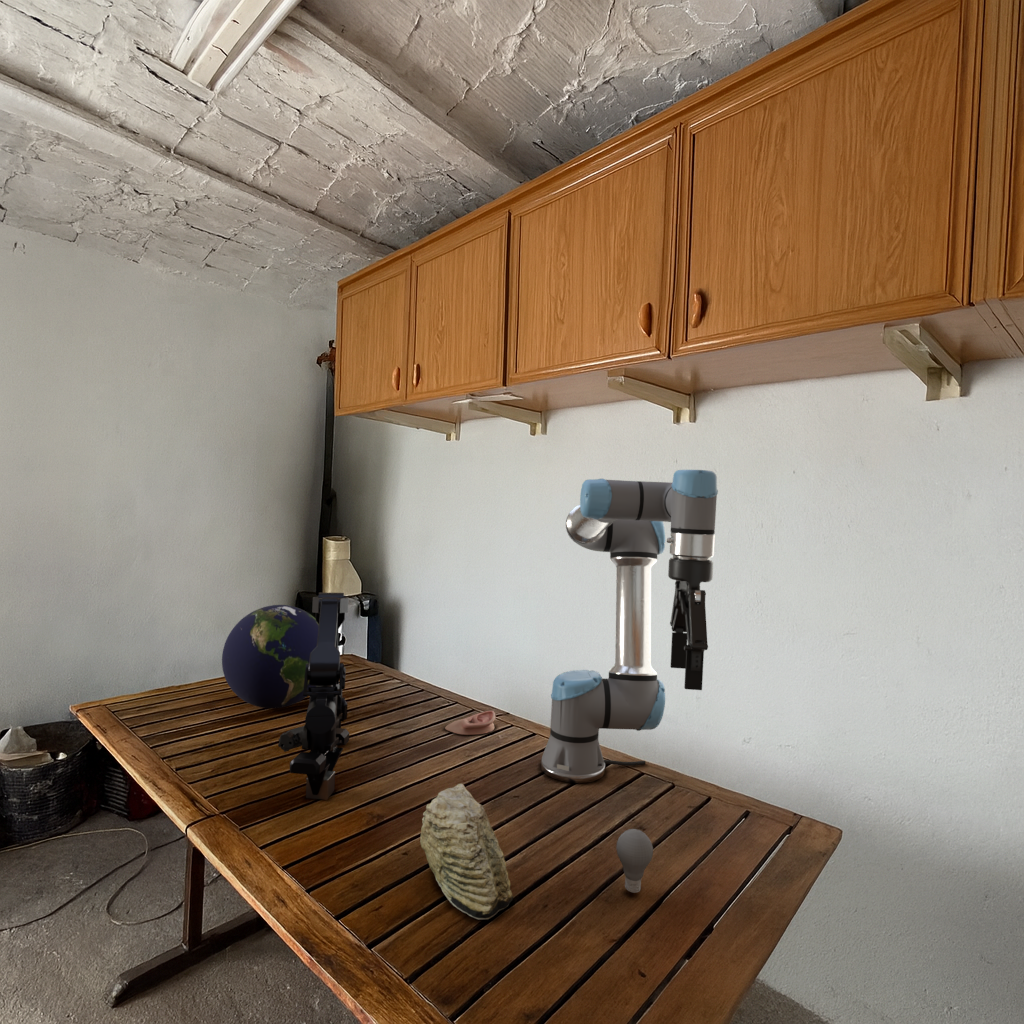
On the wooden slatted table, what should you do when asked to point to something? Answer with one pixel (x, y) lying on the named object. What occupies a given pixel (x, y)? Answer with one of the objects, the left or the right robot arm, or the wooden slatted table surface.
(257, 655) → the globe
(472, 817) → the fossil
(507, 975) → the wooden slatted table surface
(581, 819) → the wooden slatted table surface
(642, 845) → the light bulb
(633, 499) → the right robot arm
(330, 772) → the block
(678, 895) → the wooden slatted table surface
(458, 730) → the anatomical model
